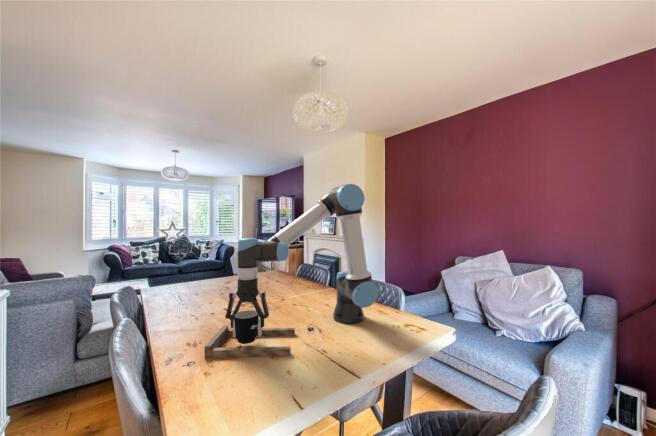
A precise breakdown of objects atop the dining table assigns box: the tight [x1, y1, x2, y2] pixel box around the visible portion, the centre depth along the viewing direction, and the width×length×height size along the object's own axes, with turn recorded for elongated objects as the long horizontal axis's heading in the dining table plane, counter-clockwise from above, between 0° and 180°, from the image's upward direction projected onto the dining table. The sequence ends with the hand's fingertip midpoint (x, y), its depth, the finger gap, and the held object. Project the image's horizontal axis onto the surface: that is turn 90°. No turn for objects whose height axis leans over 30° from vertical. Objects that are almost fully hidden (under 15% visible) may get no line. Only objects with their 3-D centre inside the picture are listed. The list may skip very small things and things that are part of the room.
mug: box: [234, 309, 260, 345], centre depth 105 cm, size 12×9×10 cm
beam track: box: [204, 324, 296, 359], centre depth 105 cm, size 30×19×4 cm, turn 92°
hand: (247, 335), depth 104 cm, fingers closed on mug, 9 cm apart
